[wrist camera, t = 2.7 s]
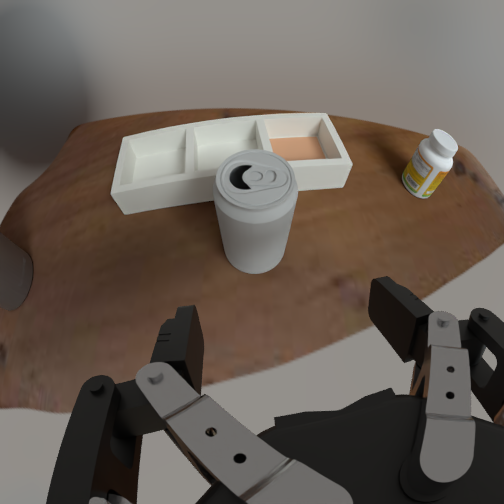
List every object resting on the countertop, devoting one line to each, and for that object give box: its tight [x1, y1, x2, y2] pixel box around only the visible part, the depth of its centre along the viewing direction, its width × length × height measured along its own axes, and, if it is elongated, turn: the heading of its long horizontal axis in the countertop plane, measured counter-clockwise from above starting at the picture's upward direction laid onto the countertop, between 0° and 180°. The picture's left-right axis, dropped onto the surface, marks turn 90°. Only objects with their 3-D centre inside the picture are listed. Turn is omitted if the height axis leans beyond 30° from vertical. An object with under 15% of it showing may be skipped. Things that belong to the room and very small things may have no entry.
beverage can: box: [213, 149, 298, 274], centre depth 24 cm, size 6×6×12 cm
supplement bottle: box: [402, 129, 458, 198], centre depth 30 cm, size 5×5×10 cm
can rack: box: [111, 113, 353, 215], centre depth 33 cm, size 28×10×4 cm, turn 98°
